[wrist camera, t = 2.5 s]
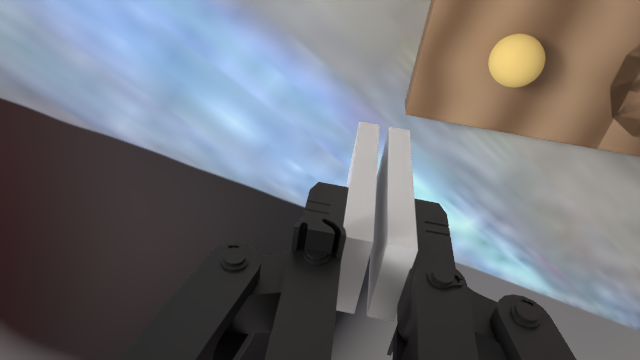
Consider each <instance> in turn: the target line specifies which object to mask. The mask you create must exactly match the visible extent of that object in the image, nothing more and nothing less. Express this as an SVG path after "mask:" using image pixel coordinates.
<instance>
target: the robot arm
mask: <svg viewBox="0 0 640 360" xmlns="http://www.w3.org/2000/svg"><path fill="white" fill-rule="evenodd" d="M379 127H380V125H377V124H371V123H366V122H360V121H359V126H358V131H357V136H356V141H355V145H354V150H353V155H352V160H351V165H350V170H349V175H348V180H347V186H346V187H343V186H338V185H332V184H327V183H322V182H318V183H317V184H316V185H315V186H314V187H313V188H311V189H310V192H309V196H308V199H307V203H306V207H305V210H304V214H303V218H302V219H300V220H298V222H297V223H296V225H295V227H294V234H293V242H292V247H291V248H290V249H289V250H287V251H286V252H283V253H280V254H277V255H269V256H260V255H259V253H258V252H257V251H256V250H255V249H254V248H253V247H251V246H249V245H247V244H243V243H238V242H234V243H226V244H223V245H220V246H218V247H216V248H215V249H214V250H213V251H211V252H210V253H209V255H208V256H207V257H206V258H205V259H204V261H203V262H202V263H201V264H200V265H199V266H198V268H197V269H196V270H195V271H194V272H193V273H192V274H191V275H190V277H189V278H188V279H187V280H186V281H185V282H184V284H183V285H182V286H181V287H180V288H179V289H178V290H177V291H176V293H175V294H174V295H173V296H172V297H171V298H170V300H169V301H168V302H167V303H166V304H165V305H164V306H163V308H162V309H161V310H160V311H159V312H158V313H157V315H156V316H155V317H154V318H153V319H152V320H151V321H150V323H149V324H148V325H147V326H146V327H145V328H144V330H143V331H142V332H141V333H140V334H139V335H138V337H136V339H135V340H134V341H133V342H132V343H131V344H130V346H129V347H128V348H127V349H126V350H125V351H124V353H123V354H122V355H121V356H120V357H119V358H118V359H117V360H239V359H240V358H241V356H242V354H243V353H244V351H245V349H246V347H247V346H248V344H249V343H250V341H251V339H252V338H253V335H254V334H255V333H265V332H271V337H270V341H269V345H268V349H267V353H266V357H265V360H331V353H332V344H333V334H334V325H335V315H336V310H337V311H342V312H347V313H352V314H354V313H355V309H356V305H357V301H358V297H359V294H360V290H361V286H362V282H363V278H364V275H365V271H366V267H367V263H368V260H369V256H370V271H369V288H368V289H369V290H368V305H367V316H368V317H373V318H378V319H383V320H388V321H394V318H395V315H396V313H397V321H398V324H397V327H396V330H395V333H394V335H393V338H392V341H391V344H390V347H389V349H388V353H387V355H391V354H392V352H393V360H576V358H575V357H574V355H573V353H572V352H571V350H570V348H569V347H568V345H567V343H566V342H565V340H564V339H563V337H562V335H561V334H560V332H559V331H558V329H557V327H556V325H555V324H554V322H553V321H552V319H551V317H550V316H549V315H548V313H547V312H546V311H545V310H544V309H543V308H542V307H541V306H540V305H538V304H537V303H536V302H534V301H532V300H530V299H528V298H526V297H523V296H518V295H508V296H504V297H503V298H501V299H500V300H499V301H498V302H495V301H493V300H491V299H488V298H486V297H484V296H482V295H479V294H478V293H476V292H474V291H473V290H471V289H470V288H469V287H467V283H466V281H465V279H464V277H463V275H462V274H461V273H460V272H459V271H458V270H457V269H456V268H455V262H454V256H453V249H452V243H451V237H450V231H449V228H448V226H449V225H448V219H447V214H446V213H445V211H444V210H443V209H442V207H441V206H440V204H439V203H434V202H429V201H424V200H418V199H414V187H413V172H412V158H411V143H410V130H404V129H399V128H393V127H389V130H388V134H387V138H386V142H385V146H384V150H383V154H382V159H381V163H380V167H379V171H378V175H377V163H378V145H379ZM370 252H371V255H370Z"/></svg>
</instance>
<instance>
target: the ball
mask: <svg viewBox="0 0 640 360" xmlns="http://www.w3.org/2000/svg"><path fill="white" fill-rule="evenodd" d="M544 64H545V52H544V49H543V47H542V45H541V43H540V42H539V41H538V40H537V39H535V38H534V37H532V36H530V35H527V34H513V35H509V36H507V37H505V38H503V39H502V40H500V41H499V42H498V43H497V44H496V45H495V46H494V48H493V49H492V51H491V53H490V56H489V62H488V66H489V70H490V73H491V75H492V77H493V78H494V79H495V80H496V81H497V82H498V83H500V84H501V85H503V86H506V87H512V88H516V87H522V86H525V85H527V84H529V83H531V82H532V81H534V80H535V79H536V78H537V77H538V76H539V75H540V73H541V72H542V70H543V67H544Z"/></svg>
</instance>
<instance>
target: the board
mask: <svg viewBox="0 0 640 360" xmlns="http://www.w3.org/2000/svg"><path fill="white" fill-rule="evenodd" d="M513 34H527V35H530V36H532V37H534V38H535V39H537V40H538V41H539V42H540V43H541V45H542V47H543V49H544V52H545V64H544V67H543V70H542V72H541V73H540V75H539V76H538V77H537V78H536V79H535V80H534V81H532V82H531V83H529V84H527V85H525V86H522V87H516V88H512V87H506V86H503V85H501V84H500V83H498V82H497V81H496V80H495V79H494V78H493V77H492V75H491V73H490V70H489V66H488V62H489V56H490V53H491V51H492V49H493V48H494V46H495V45H496V44H497V43H498V42H499V41H500V40H502V39H503V38H505V37H507V36H509V35H513ZM405 108H406V115H411V116H417V117H423V118H428V119H434V120H439V121H445V122H450V123H456V124H461V125H467V126H473V127H478V128H484V129H489V130H495V131H500V132H506V133H512V134H517V135H523V136H528V137H534V138H539V139H545V140H550V141H556V142H562V143H567V144H573V145H578V146H584V147H589V148H595V149H601V150H606V151H612V152H617V153H623V154H628V155H634V156H640V0H431V4H430V8H429V12H428V15H427V19H426V23H425V27H424V31H423V35H422V39H421V42H420V46H419V50H418V54H417V58H416V62H415V66H414V70H413V73H412V77H411V81H410V85H409V89H408V93H407V97H406V100H405Z"/></svg>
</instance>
